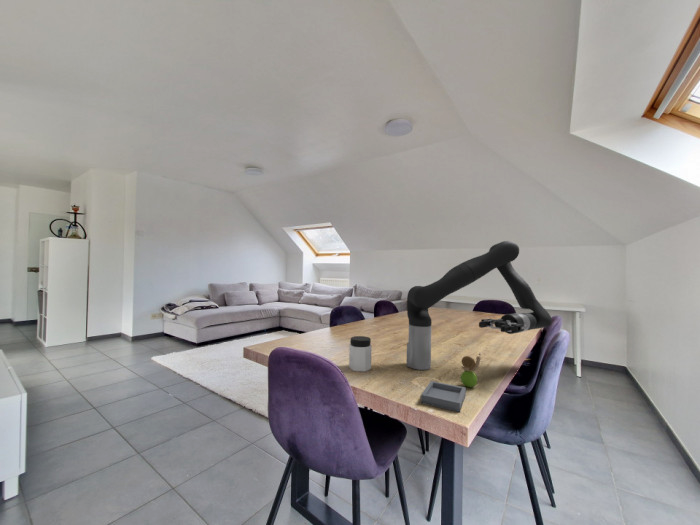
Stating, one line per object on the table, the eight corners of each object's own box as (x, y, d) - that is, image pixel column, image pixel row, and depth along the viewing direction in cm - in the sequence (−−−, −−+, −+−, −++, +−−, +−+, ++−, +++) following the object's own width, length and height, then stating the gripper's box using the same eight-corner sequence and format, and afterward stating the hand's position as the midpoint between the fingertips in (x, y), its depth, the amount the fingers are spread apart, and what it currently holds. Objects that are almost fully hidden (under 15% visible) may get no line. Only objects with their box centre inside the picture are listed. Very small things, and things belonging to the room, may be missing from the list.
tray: (420, 403, 89) (421, 394, 89) (430, 388, 100) (431, 380, 100) (459, 412, 83) (459, 403, 83) (465, 395, 95) (465, 387, 95)
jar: (346, 365, 121) (346, 336, 122) (364, 363, 125) (364, 335, 125) (355, 373, 113) (355, 341, 113) (374, 370, 116) (374, 340, 117)
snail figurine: (479, 391, 98) (479, 355, 98) (458, 387, 102) (459, 352, 102) (481, 386, 103) (482, 351, 103) (462, 382, 106) (462, 348, 106)
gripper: (497, 311, 123) (473, 313, 115) (534, 316, 111) (509, 319, 103) (497, 329, 123) (473, 333, 114) (534, 336, 111) (509, 341, 102)
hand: (490, 326), depth 108 cm, fingers open, 8 cm apart
